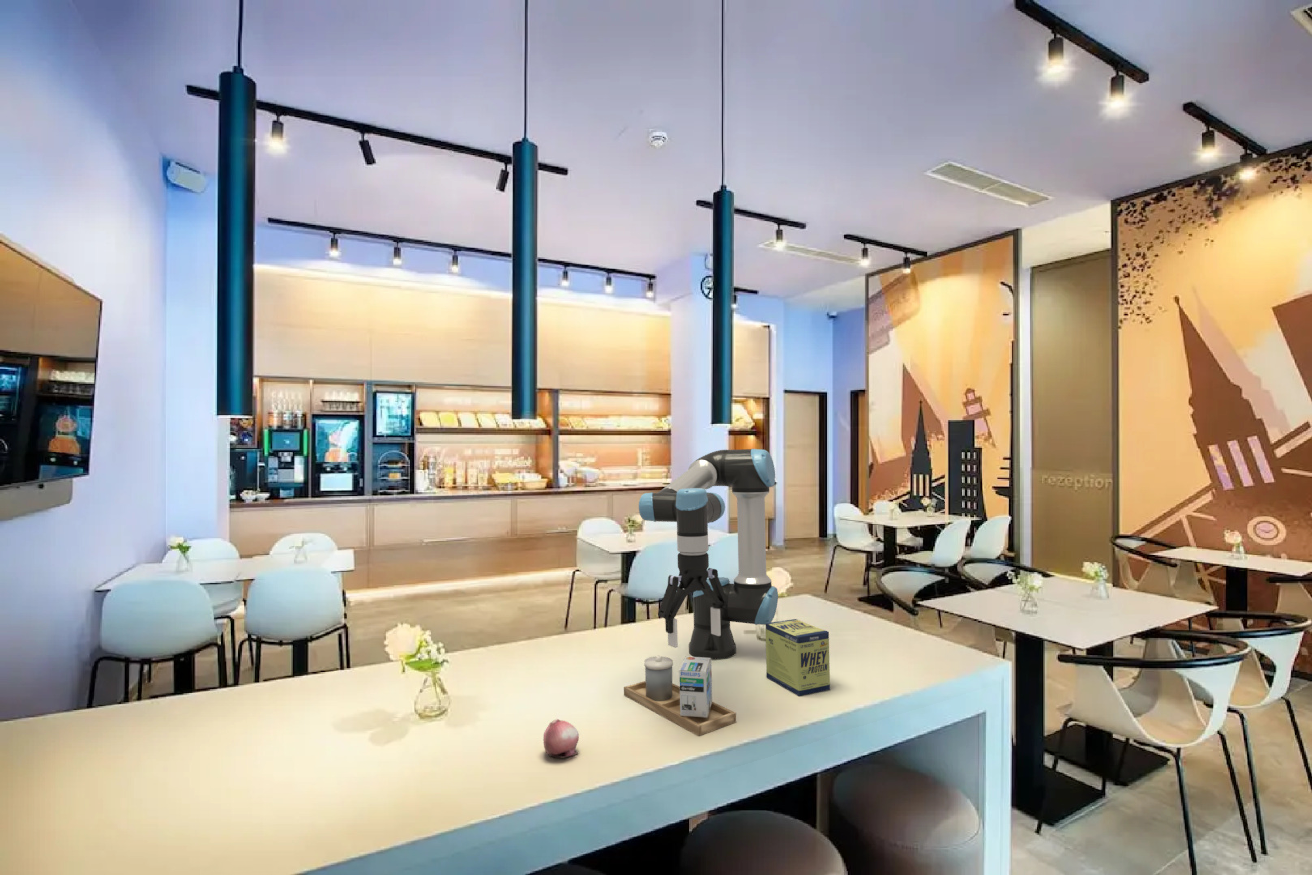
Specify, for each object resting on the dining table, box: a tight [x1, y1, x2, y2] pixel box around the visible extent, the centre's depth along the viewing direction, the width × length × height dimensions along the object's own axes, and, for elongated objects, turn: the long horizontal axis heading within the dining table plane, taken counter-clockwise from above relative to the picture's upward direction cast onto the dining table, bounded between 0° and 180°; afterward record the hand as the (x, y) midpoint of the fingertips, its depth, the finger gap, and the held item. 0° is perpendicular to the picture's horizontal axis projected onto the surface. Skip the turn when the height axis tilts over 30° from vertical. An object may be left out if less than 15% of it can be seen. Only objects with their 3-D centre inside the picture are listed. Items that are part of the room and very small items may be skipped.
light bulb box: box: [678, 655, 713, 718], centre depth 150 cm, size 11×7×11 cm, turn 169°
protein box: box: [765, 618, 831, 697], centre depth 170 cm, size 10×16×16 cm
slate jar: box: [643, 655, 674, 701], centre depth 161 cm, size 7×7×10 cm
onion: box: [542, 718, 580, 759], centre depth 133 cm, size 8×8×7 cm
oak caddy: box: [623, 680, 737, 737], centre depth 155 cm, size 12×30×2 cm, turn 37°
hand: (695, 640), depth 150 cm, fingers open, 13 cm apart
